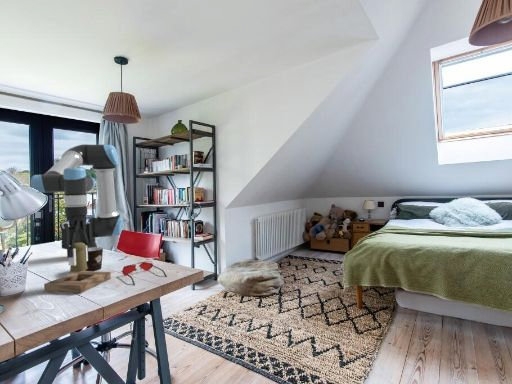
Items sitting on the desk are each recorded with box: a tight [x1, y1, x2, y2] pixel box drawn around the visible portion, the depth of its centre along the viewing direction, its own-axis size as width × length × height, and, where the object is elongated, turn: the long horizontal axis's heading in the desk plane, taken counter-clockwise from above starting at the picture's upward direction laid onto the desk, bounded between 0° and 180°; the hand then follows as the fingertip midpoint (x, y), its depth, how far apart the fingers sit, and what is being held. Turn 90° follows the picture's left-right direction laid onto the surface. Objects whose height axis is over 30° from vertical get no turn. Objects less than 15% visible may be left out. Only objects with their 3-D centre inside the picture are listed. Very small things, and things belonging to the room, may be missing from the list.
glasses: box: [121, 260, 168, 286], centre depth 119 cm, size 14×16×5 cm
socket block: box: [43, 270, 112, 294], centre depth 110 cm, size 16×16×3 cm
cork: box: [69, 242, 88, 273], centre depth 110 cm, size 6×6×11 cm
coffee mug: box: [85, 246, 104, 271], centre depth 130 cm, size 12×9×10 cm
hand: (78, 262), depth 110 cm, fingers closed on cork, 5 cm apart
